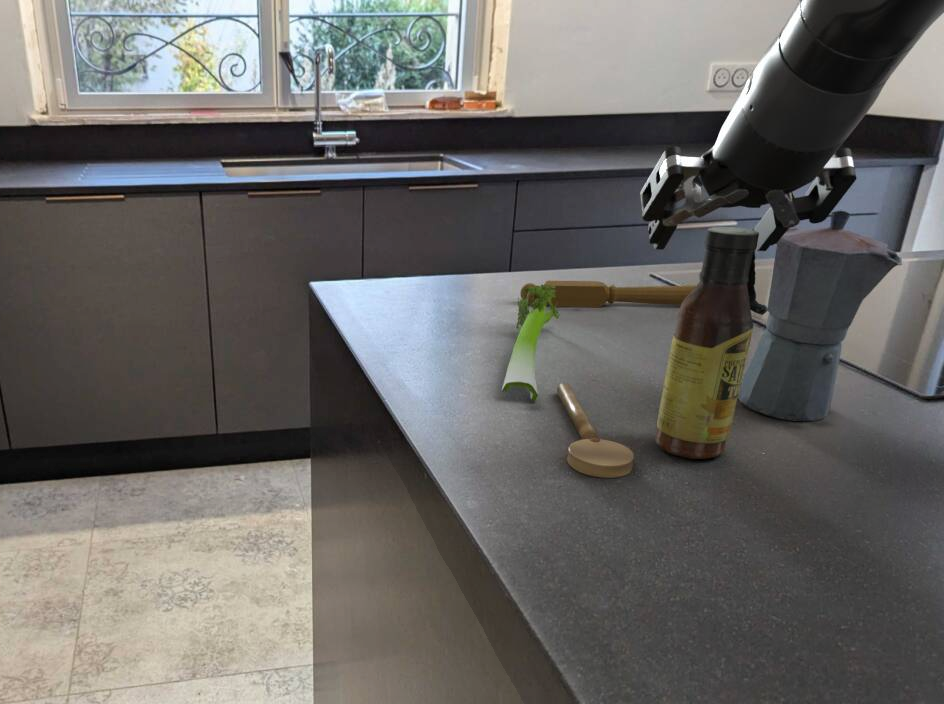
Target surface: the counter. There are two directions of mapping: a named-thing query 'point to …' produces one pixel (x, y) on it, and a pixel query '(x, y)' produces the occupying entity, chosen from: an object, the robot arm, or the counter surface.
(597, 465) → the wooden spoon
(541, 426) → the counter surface
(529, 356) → the celery stalk
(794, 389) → the moka pot
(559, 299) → the tap handle
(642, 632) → the counter surface
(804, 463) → the counter surface
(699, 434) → the sauce bottle
